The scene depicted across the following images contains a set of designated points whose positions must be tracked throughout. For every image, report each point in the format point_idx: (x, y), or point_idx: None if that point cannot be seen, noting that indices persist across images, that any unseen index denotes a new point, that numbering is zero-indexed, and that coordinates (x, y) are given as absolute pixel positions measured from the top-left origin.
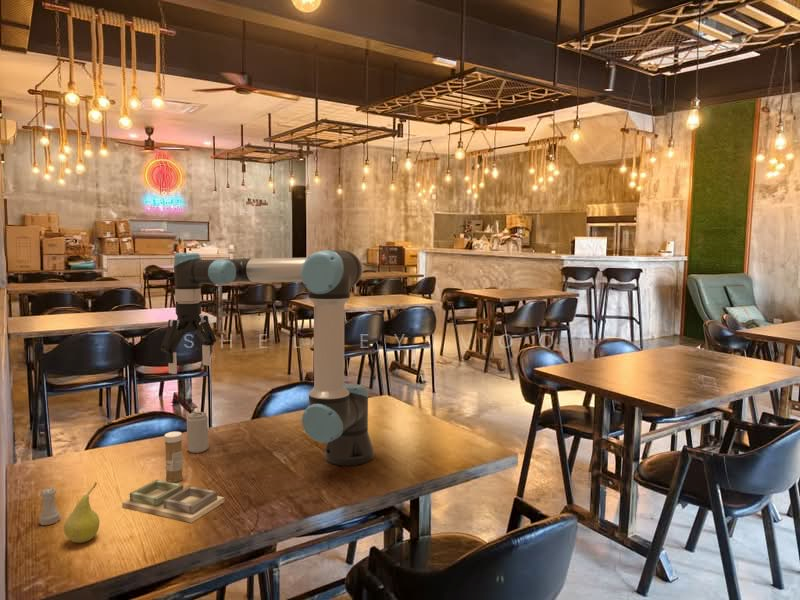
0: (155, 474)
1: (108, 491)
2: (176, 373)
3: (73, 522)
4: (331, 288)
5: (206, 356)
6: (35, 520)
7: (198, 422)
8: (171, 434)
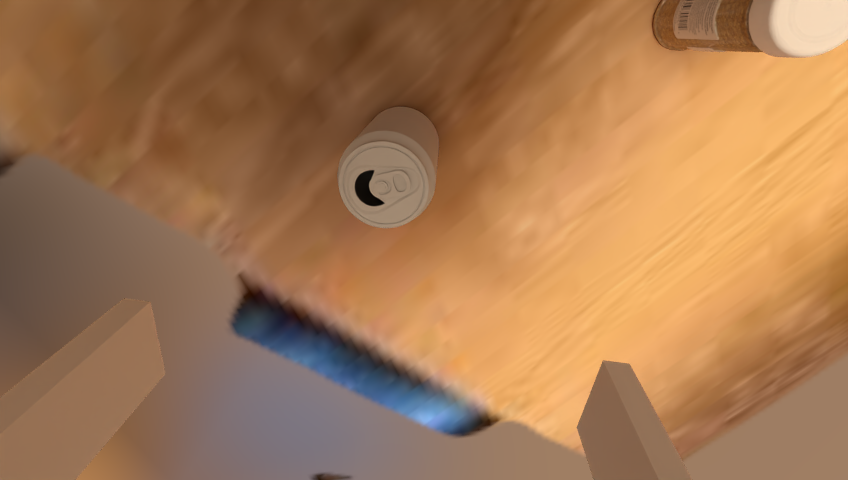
0: (643, 125)
1: (797, 165)
2: (610, 361)
3: None
4: None
5: (75, 407)
6: None
7: (420, 142)
8: (840, 4)
